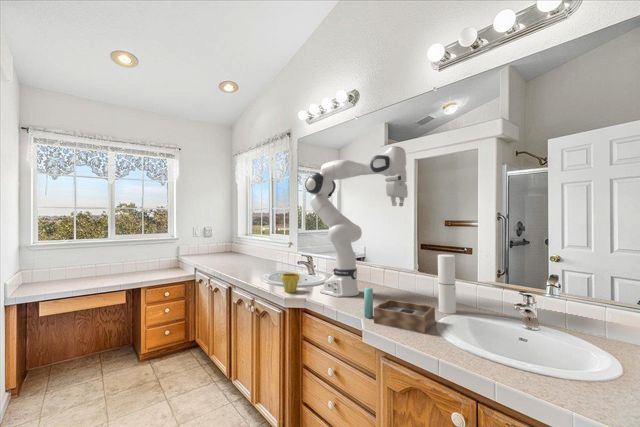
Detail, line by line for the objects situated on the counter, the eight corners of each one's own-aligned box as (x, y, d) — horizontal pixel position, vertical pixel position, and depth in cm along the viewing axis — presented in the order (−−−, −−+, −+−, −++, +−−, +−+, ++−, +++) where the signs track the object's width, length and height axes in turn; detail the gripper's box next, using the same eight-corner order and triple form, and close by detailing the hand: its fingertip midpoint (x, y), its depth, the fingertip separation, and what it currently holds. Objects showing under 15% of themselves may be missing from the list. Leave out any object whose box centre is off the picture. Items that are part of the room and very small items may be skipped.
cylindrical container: (435, 310, 137) (434, 255, 137) (447, 308, 140) (446, 254, 140) (447, 314, 131) (446, 256, 131) (459, 312, 133) (458, 255, 134)
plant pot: (303, 291, 175) (302, 274, 175) (288, 294, 168) (288, 277, 168) (292, 288, 183) (292, 272, 183) (278, 291, 176) (278, 274, 176)
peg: (363, 317, 129) (362, 289, 129) (366, 315, 132) (366, 287, 132) (370, 318, 127) (370, 290, 127) (374, 316, 129) (374, 288, 130)
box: (373, 322, 122) (373, 307, 122) (388, 312, 134) (388, 299, 134) (424, 333, 110) (423, 316, 110) (435, 321, 122) (434, 306, 122)
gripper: (398, 181, 162) (399, 206, 162) (383, 177, 146) (383, 205, 145) (410, 180, 159) (410, 206, 158) (396, 176, 142) (396, 205, 142)
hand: (397, 206), depth 152 cm, fingers open, 8 cm apart
